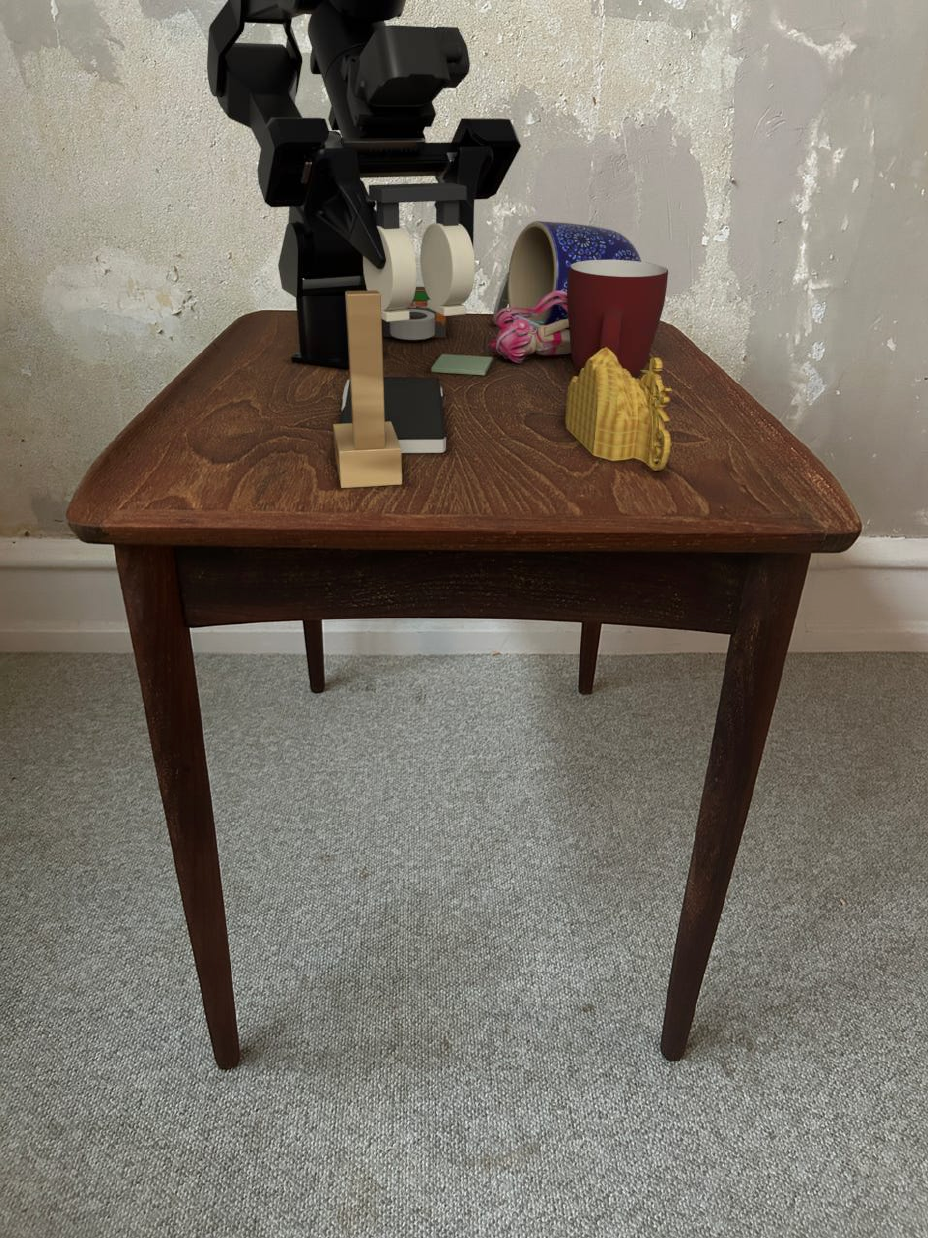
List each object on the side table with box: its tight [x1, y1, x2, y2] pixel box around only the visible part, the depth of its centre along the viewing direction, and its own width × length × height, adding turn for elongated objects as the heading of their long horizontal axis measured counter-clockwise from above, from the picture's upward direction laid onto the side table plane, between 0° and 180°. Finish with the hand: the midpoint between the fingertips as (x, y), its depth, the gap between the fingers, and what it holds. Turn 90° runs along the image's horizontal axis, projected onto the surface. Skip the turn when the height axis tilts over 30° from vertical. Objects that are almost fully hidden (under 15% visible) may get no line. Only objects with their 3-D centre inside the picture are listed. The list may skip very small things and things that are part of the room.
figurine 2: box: [564, 347, 673, 472], centre depth 62 cm, size 4×12×7 cm, turn 13°
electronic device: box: [382, 286, 447, 341], centre depth 95 cm, size 7×3×15 cm
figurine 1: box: [492, 272, 510, 326], centre depth 94 cm, size 6×6×8 cm
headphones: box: [363, 182, 476, 322], centre depth 63 cm, size 6×6×9 cm
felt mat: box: [430, 353, 494, 376], centre depth 82 cm, size 5×5×1 cm
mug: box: [567, 260, 669, 379], centre depth 73 cm, size 10×8×10 cm
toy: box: [486, 290, 571, 364], centre depth 83 cm, size 7×6×15 cm
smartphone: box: [338, 376, 447, 454], centre depth 68 cm, size 8×1×15 cm
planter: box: [507, 220, 642, 330], centre depth 89 cm, size 11×11×11 cm
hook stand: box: [332, 290, 403, 489], centre depth 56 cm, size 6×4×12 cm, turn 11°
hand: (426, 262), depth 62 cm, fingers closed on headphones, 6 cm apart
